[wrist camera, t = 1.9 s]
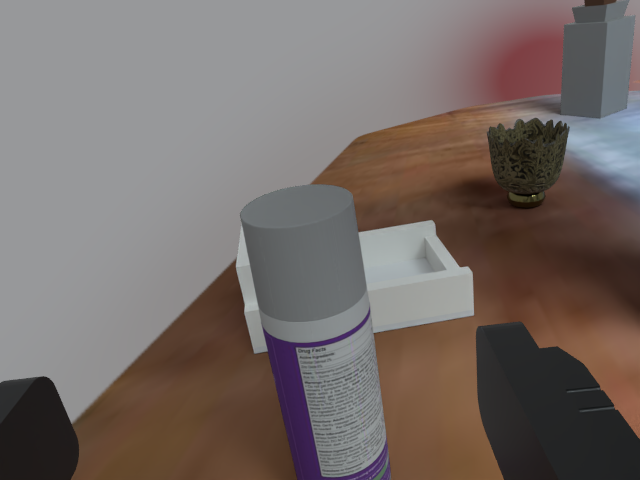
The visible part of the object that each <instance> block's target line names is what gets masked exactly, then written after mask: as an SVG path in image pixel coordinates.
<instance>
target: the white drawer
mask: <svg viewBox="0 0 640 480" xmlns="http://www.w3.org/2000/svg"><path fill="white" fill-rule="evenodd" d="M359 240H360V246H361V252H362V259H363V265H364V272H365V278H366V284H367V291H368V297H369V303H370V310H371V318H372V326H373V333H376V332H382V331H387V330H393V329H399V328H405V327H410V326H416V325H422V324H428V323H433V322H439V321H445V320H450V319H456V318H462V317H468V316H473V315H474V299H473V273H472V271H471V270H470V269H469V267H468V266H467V267H461V268H460V267H459V266H458V264H457V263H456V261H455V260H454V259H453V257H452V256H451V255H450V253H449V252H448V251H447V249H446V248H445V246H444V245H443V244H442V242H441V241H440V240H439V238H438V237H437V236H436V226H435V223H434V222H433V221H432V220H429V221H423V222H417V223H412V224H406V225H400V226H394V227H388V228H382V229H376V230H371V231H365V232H359ZM236 270H237V274H238V278H239V283H240V287H241V291H242V295H243V299H244V303H245V309H244V313H245V318H246V322H247V326H248V330H249V334H250V338H251V342H252V346H253V350H254V354H256V353H261V352H267V351H268V350H267V346H266V341H265V337H264V333H263V329H262V324H261V318H260V313H259V308H258V303H257V298H256V293H255V288H254V283H253V278H252V273H251V268H250V263H249V258H248V253H247V248H246V243H245V237H244V232H243V227H241V233H240V241H239V248H238V255H237V263H236Z"/></svg>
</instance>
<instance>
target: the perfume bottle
mask: <svg viewBox="0 0 640 480" xmlns="http://www.w3.org/2000/svg"><path fill="white" fill-rule="evenodd" d="M628 3H629V0H620V1H616V0H585V5H582V6H578V7H573V8H572V10H573V14H574V18H575V22H574V23H570V24H566V25H564V42H563V67H562V90H561V115H571V116H581V117H592V118H603V117H605V116H608V115H611V114H613V113H616V112H618V111H621V110H624V109H626V108H627V100H628V88H629V79H630V68H631V56H632V47H633V36H634V25H635V15H634V16H624V14H625V11H626V8H627V5H628Z"/></svg>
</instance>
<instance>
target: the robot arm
mask: <svg viewBox="0 0 640 480" xmlns="http://www.w3.org/2000/svg"><path fill="white" fill-rule="evenodd" d="M476 353H477V391H478V403H479V409H480V414H481V419H482V422H483V426H484V429H485V432H486V434H487V437H488V439H489V442H490V445H491V447H492V450H493V452H494V455H495V457H496V460H497V463H498V465H499V468H500V470H501V473H502V475H503V478H504V480H640V439H639V438H638V437H637V435H636V434H635V433H634V431H633V430H632V429H631V427H630V426H629V425H628V423H627V422H626V420H625V419H624V418H623V416H622V415H621V414H620V412H619V411H618V410H615V408H614V404H613V403H612V402H611V400H610V399H609V398H608V396H607V395H606V393H605V392H604V391H603V390H602V391H601V389H600V385H599V384H598V383H597V381H596V380H595V379H594V377H593V376H592V375H591V373H590V372H589V371H588V369H587V368H586V367H585V365H584V364H583V363H582V362H580V361H579V360H577V359H576V358H574V357H573V356H571V355H570V354H568V353H567V352H565V351H563V350H562V349H560V348H559V347H548V348H539V347H538V346H537V344H536V343H535V341H534V340H533V338H532V336H531V335H530V333H529V332H528V330H527V329H526V327H525V326H524V324H523V323H522V322H512V323H504V324H495V325H487V326H478V328H477V331H476ZM78 457H79V444H78V439H77V436H76V434H75V431H74V429H73V427H72V424H71V422H70V420H69V417H68V415H67V413H66V410H65V408H64V406H63V404H62V401H61V399H60V396H59V394H58V392H57V390H56V387H55V385H54V383H53V382H52V381H51V380H50V379H49V378H47V377H44V376H43V377H34V378H26V379H18V380H9V381H3V382H1V383H0V480H71V478H72V476H73V474H74V472H75V470H76V467H77V463H78Z"/></svg>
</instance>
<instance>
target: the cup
mask: <svg viewBox="0 0 640 480" xmlns="http://www.w3.org/2000/svg"><path fill="white" fill-rule="evenodd" d="M515 123H516V125H515V124H514V125H515V126H514V127H515V128H514V127H513V128H514V129H511V128H508V130H505V128H504V126H503V124H499V125H498V127H497V128H495V127H490V128H489V133H488V132H487V133H488V134H487V136H488V142H489V149H490V157H491V164H492V169H493V174H494V177H495V179H496V181H497V183H498V184H499V185H500V186H501V187H502V188H503V189H505V190H506V191H509V192H508V194H507V198H508V201H509V203H510V204H511V205H513V206H516V207H520V208H531V207H536V206H538V205H540V204H542V203H543V201H544V199H545V197H546V195H545V192H544V191H545V190H547V189H549V188H550V187H551V186H553V185H554V184H555V182H556V181H557V179H558V177H559V175H560V172H561V169H562V165H563V161H564V155H565V150H566V144H567V138H568V132H569V126H568V128H567V124H566V123H565V124H564V127H563V124H562V121H559V122H558V123H557V124H556V126H555V127H553V120H550V121H548V122H547V123H546V124H545V125H546V126H545V125H543V123H542V121H540V120H539V119H538V118H534V119H532V120H530V121H528V122H527V123H525V124H524V121H523V120H521V119H518V120H517V121H516V122H515Z"/></svg>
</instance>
